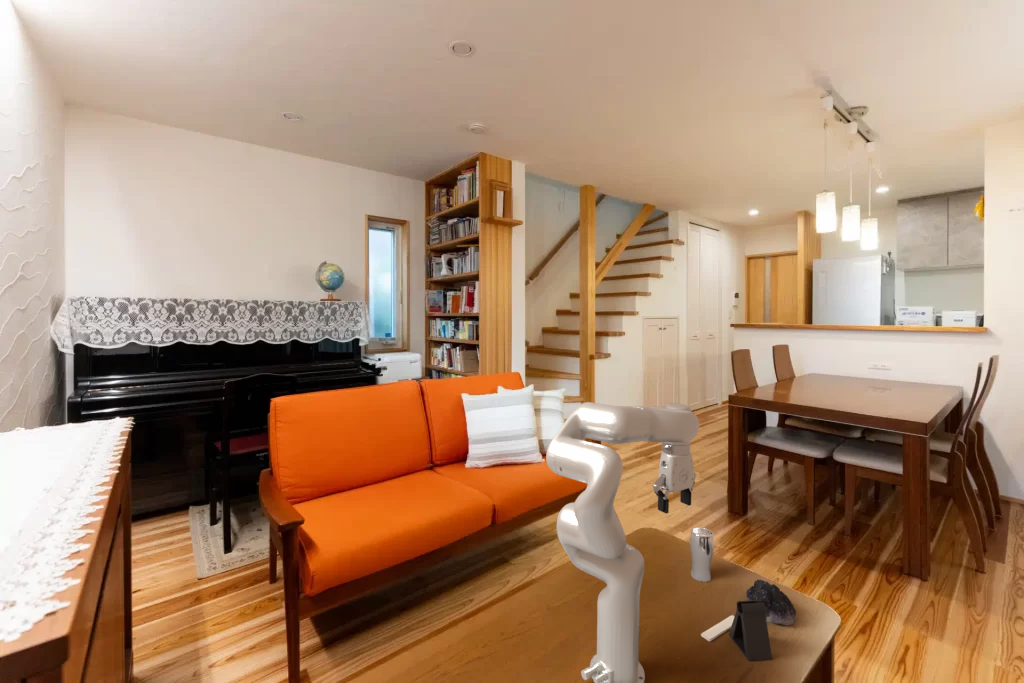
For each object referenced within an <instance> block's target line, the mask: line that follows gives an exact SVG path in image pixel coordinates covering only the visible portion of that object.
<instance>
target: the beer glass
mask: <svg viewBox="0 0 1024 683" xmlns="http://www.w3.org/2000/svg"><path fill="white" fill-rule="evenodd" d="M690 530H691V532H690V539H689V540H690V541H689V543H690V544H689V547H690V555H691V561H692V563H691V564H692V566H691V572H690V575H691V577H692V579H694V580H696V581H697V582H701V581H703V583H707V581H708V582H711V580H712V574H711V563H712V561H713V560H712V559H713V554H714V532H713V531H712V530H711V529H708V528H706V527H702V526H694V527H692V528H691V529H690Z"/></svg>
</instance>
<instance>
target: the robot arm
mask: <svg viewBox="0 0 1024 683" xmlns="http://www.w3.org/2000/svg"><path fill="white" fill-rule="evenodd" d="M699 430H700V421H699V419H698V416H697V415H696V414H695V413H694V412H693V411H692V409H691V407H690V406H688V404H687V405H686V404H684V403H683V404H682V403H666V404H665V405H663V406H662V405H661V406H651V407H650V406H643V405H631V406H630V405H610V404H604V403H596V402H590V401H586V402H583V403H581V404H580V405H579V406H577V408H575V409H574V410H573V412H571V414H570V415H569V416H568V418H566V420H565V421H564V423H563V424H562V426H561V427H560V428H559V429H558V431H557V433H555V435H554V437H553V438H552V439H551V440H550V443H549V444H548V446H547V449H546V456H545V459H546V465H547V466H548V467H547V468H548V469H549V470H550V471H551V472H553V473H554V474H556V475H559V476H561V477H565V478H567V479H571V480H573V481H574V480H575V481H577V482H581V483H584V484H586V488H585V490H583V491H582V492H581V493H580V494H578V496H577V498H576V499H575V501H574V502H573V501H572V502H569V503H567V504H565V505H564V506H563V507H562V508H561V509H560V511H559V512H558V515H557V518H556V519H557V520H556V526H555V527H556V533H557V537H558V538H557V539H558V540H559V542H560V544H561V546H562V548H563V550H564V551H565V552H566V554H567V556H568V558H569V560H570V561H571V563H572V564H573V566H575V567H576V568H577V569H578V570H580V571H583V573H586V574H588V575H590V576H593V577H595V578H597V579H598V580H600V581H602V582H604V583H605V585H606V586H604V588H603V589H602V590H601V591H600V593H599V594H598V596H597V603H596V604H597V606H596V609H597V610H596V612H597V615H596V616H597V617H596V618H597V620H596V621H597V622H596V628H597V629H596V654H594V655H593V656H592V658H591V660H590V663H589V666H588V667H586V668H584V669H582V670H581V671H580V674H581V678H582V679H583V680H584V681H587V680H589V679H590V678H591V679H592V680H593V683H645V681H646V674H645V670H644V668H643V665H642V664H641V663H640V661H639V644H640V643H639V642H640V641H639V639H640V638H639V637H640V636H639V634H640V633H639V632H640V628H639V627H640V597H641V596H640V595H641V587H642V583H643V579H644V578H643V577H644V574H645V573H644V572H645V559H644V556H643V555H642V553H641V552H640V551H639V550H638V548H635V547H634V546H632V545H630V544H628V543H627V538H626V537H627V536H626V534H625V530H624V528H623V525H622V522H621V520H620V518H619V516H618V514H617V512H616V509H615V507H614V502H615V499H616V495H617V492H618V489H619V486H620V483H621V479H622V476H623V461H622V458H621V456H620V455H619V454H618V452H617V451H616V450H614V449H612V448H611V447H609V446H606V445H603V444H599V443H595V442H591V441H587V440H586V439H590V440H593V441H599V442H601V443H602V442H603V443H608V444H613V445H623V444H624V445H626V444H631V443H639V442H646V443H647V442H648V443H661V454H660V459H659V465H658V478H657V479H656V481H655V482H654V483H652V487H653V490H654V491H653V492H654V494H656V497H657V510H658V511H660V512H662V513H663V514H666V515H667V514H669V508H670V507H669V505H670V504H669V502H670V500H669V496H670V493H674V494H675V493H677V492H680V499H679V500H680V503H682V504H683V505H686V506H691V505H692V492H693V490H694V485H695V481H696V478H697V473H696V472H694V461H693V455H692V452H691V442H692V441H693V440H694V439H695V438H696V437H697V435H698V433H699ZM664 491H665V492H664Z"/></svg>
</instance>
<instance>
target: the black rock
mask: <svg viewBox="0 0 1024 683" xmlns="http://www.w3.org/2000/svg"><path fill="white" fill-rule="evenodd" d="M780 589H781V588H779V586H778V585H776V584H774V583H773V584H770V582H768V581H766V580H763V579H755V581H754V582H753V585H751V586H750V587H749V588H748V589H746V592H745V594H746V598H747V600H746V601H752V600H761V602H759V603H764V604H765V607H766V622H769V623H771V624H775V625H776V624H779V625H783V626H790V625H793V624H794V623H795V621H797V610H796V608H795V606H794V604H793V603H792V600H791V599H789V597H788V595H787V594H785V592H783V591H782V590H780Z"/></svg>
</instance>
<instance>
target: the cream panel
mask: <svg viewBox="0 0 1024 683" xmlns="http://www.w3.org/2000/svg"><path fill="white" fill-rule="evenodd" d="M734 617H735V615H734V614H731V615H730V616H728V617H726V618H725V619H723V620H721V621H720V622H717V623H716V624H714V625H713V626H711V627H710V628H708V629H707V630H705V631H703V632H701V633H700V636H701V637H702V638H704V639H705V640H706V641H708V642H712V641H714V640H715V639H716V638H718V637H719V636H721V635H722V634H724V633H726V632H727V631H730V629H731V626H732V623H733V620H734Z"/></svg>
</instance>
